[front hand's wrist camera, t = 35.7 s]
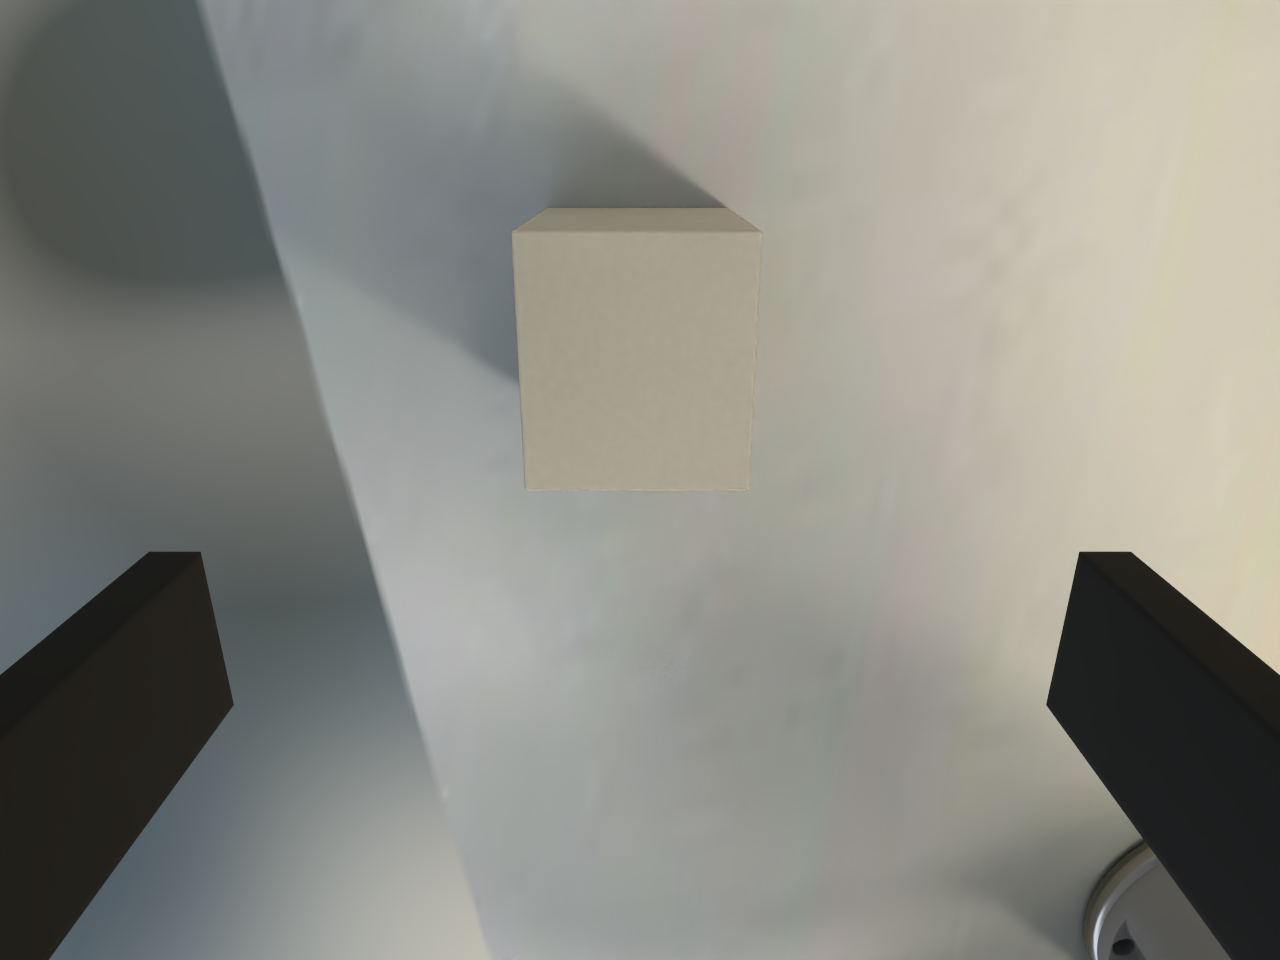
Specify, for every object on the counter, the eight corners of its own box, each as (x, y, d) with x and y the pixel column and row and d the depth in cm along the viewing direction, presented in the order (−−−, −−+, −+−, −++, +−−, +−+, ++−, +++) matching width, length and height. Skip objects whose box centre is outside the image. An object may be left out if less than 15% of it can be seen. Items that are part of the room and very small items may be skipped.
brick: (546, 207, 36) (510, 230, 26) (729, 207, 36) (762, 230, 26) (553, 404, 40) (524, 491, 30) (721, 404, 40) (749, 491, 30)
